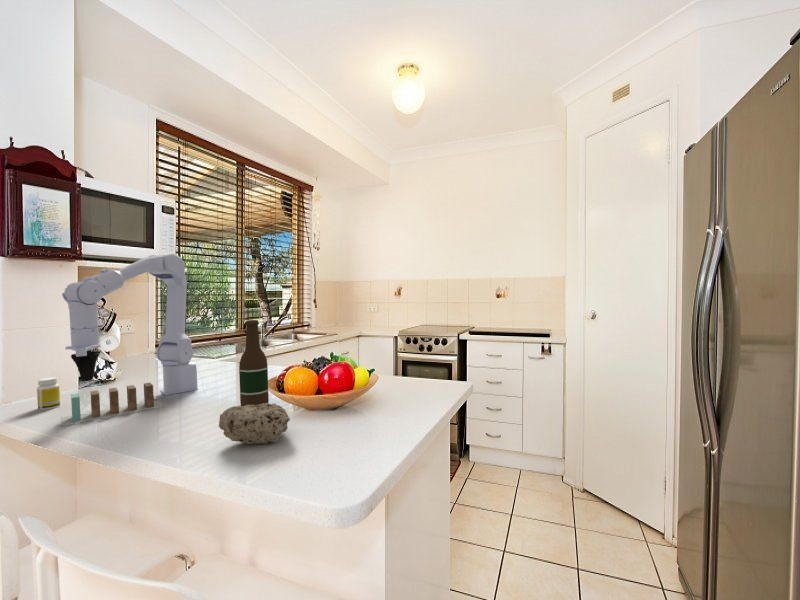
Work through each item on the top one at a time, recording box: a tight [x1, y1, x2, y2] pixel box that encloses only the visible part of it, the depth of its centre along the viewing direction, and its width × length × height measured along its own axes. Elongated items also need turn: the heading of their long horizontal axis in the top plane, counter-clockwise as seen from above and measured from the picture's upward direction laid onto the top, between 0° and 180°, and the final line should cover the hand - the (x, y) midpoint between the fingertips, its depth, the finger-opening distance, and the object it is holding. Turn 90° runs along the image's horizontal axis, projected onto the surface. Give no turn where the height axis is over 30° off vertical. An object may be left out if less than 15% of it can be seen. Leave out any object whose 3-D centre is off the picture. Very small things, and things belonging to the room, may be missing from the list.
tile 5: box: [70, 392, 81, 422], centre depth 101 cm, size 2×5×6 cm, turn 41°
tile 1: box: [143, 382, 155, 408], centre depth 112 cm, size 2×5×6 cm, turn 41°
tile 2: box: [126, 384, 138, 411], centre depth 109 cm, size 2×5×6 cm, turn 41°
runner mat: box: [60, 399, 165, 427], centre depth 106 cm, size 22×8×1 cm, turn 131°
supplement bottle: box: [36, 376, 61, 411], centre depth 112 cm, size 5×5×8 cm
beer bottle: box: [238, 319, 270, 406], centre depth 108 cm, size 8×8×24 cm
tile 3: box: [108, 387, 120, 414], centre depth 106 cm, size 2×5×6 cm, turn 41°
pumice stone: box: [218, 402, 291, 445], centre depth 84 cm, size 14×12×8 cm
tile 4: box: [89, 389, 101, 418], centre depth 104 cm, size 2×5×6 cm, turn 41°
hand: (87, 380), depth 103 cm, fingers closed
